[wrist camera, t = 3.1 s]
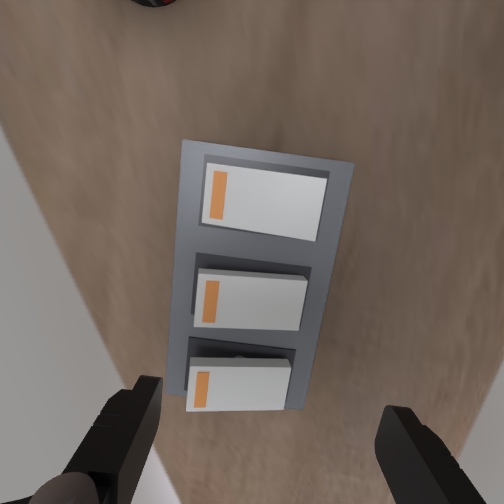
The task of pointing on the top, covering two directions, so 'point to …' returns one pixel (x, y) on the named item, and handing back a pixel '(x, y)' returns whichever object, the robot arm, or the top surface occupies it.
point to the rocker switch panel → (250, 265)
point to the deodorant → (153, 2)
